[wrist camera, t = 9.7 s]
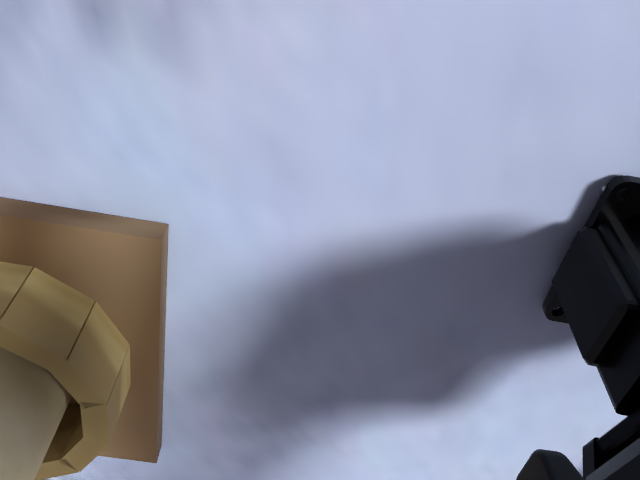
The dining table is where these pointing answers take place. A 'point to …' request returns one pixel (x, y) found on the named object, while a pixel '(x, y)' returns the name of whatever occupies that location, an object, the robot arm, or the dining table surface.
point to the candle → (27, 415)
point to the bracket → (88, 324)
